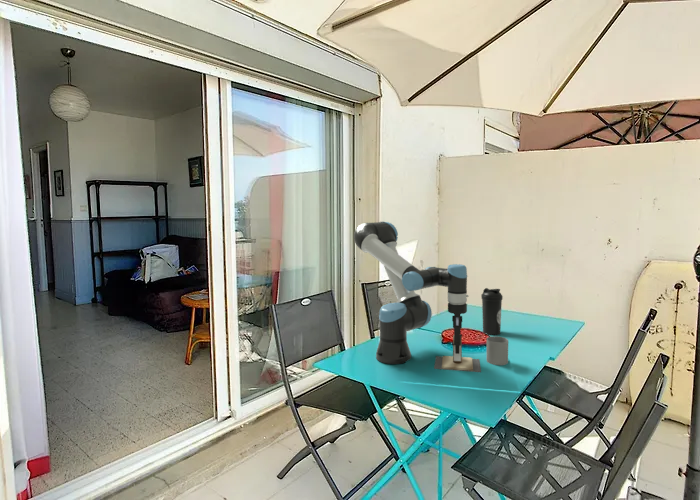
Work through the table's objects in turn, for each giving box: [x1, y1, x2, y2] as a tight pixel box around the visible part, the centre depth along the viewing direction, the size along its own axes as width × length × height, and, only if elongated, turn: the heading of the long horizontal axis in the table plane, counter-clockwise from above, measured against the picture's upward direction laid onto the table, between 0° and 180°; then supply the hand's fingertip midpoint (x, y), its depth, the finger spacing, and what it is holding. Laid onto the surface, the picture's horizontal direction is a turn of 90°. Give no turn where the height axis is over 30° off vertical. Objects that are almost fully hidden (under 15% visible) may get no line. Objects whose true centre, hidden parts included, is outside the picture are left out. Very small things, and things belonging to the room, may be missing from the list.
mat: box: [433, 355, 482, 373], centre depth 164 cm, size 18×14×1 cm
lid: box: [442, 334, 473, 371], centre depth 163 cm, size 12×12×12 cm
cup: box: [485, 335, 509, 366], centre depth 165 cm, size 8×8×10 cm
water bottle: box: [481, 287, 504, 336], centre depth 205 cm, size 10×10×23 cm
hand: (457, 356), depth 164 cm, fingers open, 9 cm apart
